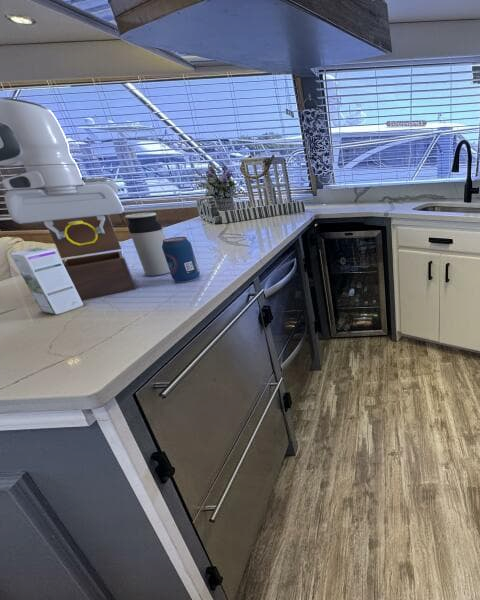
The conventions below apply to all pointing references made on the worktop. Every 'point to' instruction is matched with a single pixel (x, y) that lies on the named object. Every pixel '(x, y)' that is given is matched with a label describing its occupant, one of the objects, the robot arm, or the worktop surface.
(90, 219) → the chest lid
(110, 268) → the chest
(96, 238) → the watch
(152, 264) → the travel mug
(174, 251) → the soda can
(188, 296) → the worktop surface
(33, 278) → the syrup box
